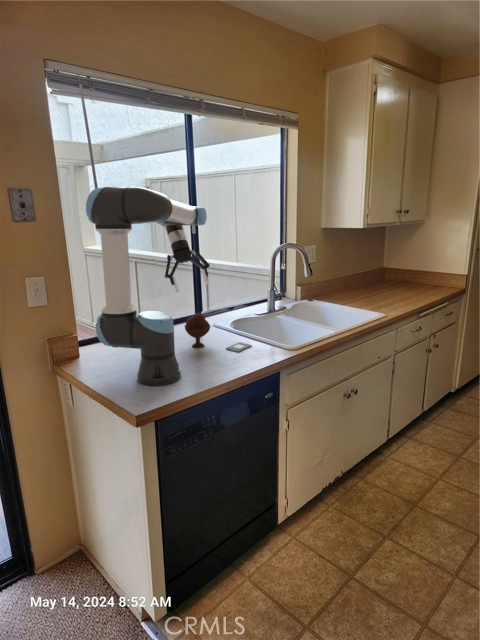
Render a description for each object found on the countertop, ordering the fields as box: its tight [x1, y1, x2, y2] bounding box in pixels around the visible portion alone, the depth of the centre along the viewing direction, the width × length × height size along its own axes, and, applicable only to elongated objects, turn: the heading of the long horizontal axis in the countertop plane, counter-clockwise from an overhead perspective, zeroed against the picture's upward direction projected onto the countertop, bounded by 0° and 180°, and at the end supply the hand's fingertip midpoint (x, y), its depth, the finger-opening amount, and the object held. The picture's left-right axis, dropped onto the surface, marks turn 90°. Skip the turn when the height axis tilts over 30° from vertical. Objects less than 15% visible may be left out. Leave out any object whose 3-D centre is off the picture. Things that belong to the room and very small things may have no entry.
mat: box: [225, 342, 253, 353], centre depth 176 cm, size 10×7×1 cm
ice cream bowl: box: [184, 312, 211, 349], centre depth 176 cm, size 11×11×15 cm
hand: (192, 287), depth 179 cm, fingers open, 13 cm apart
